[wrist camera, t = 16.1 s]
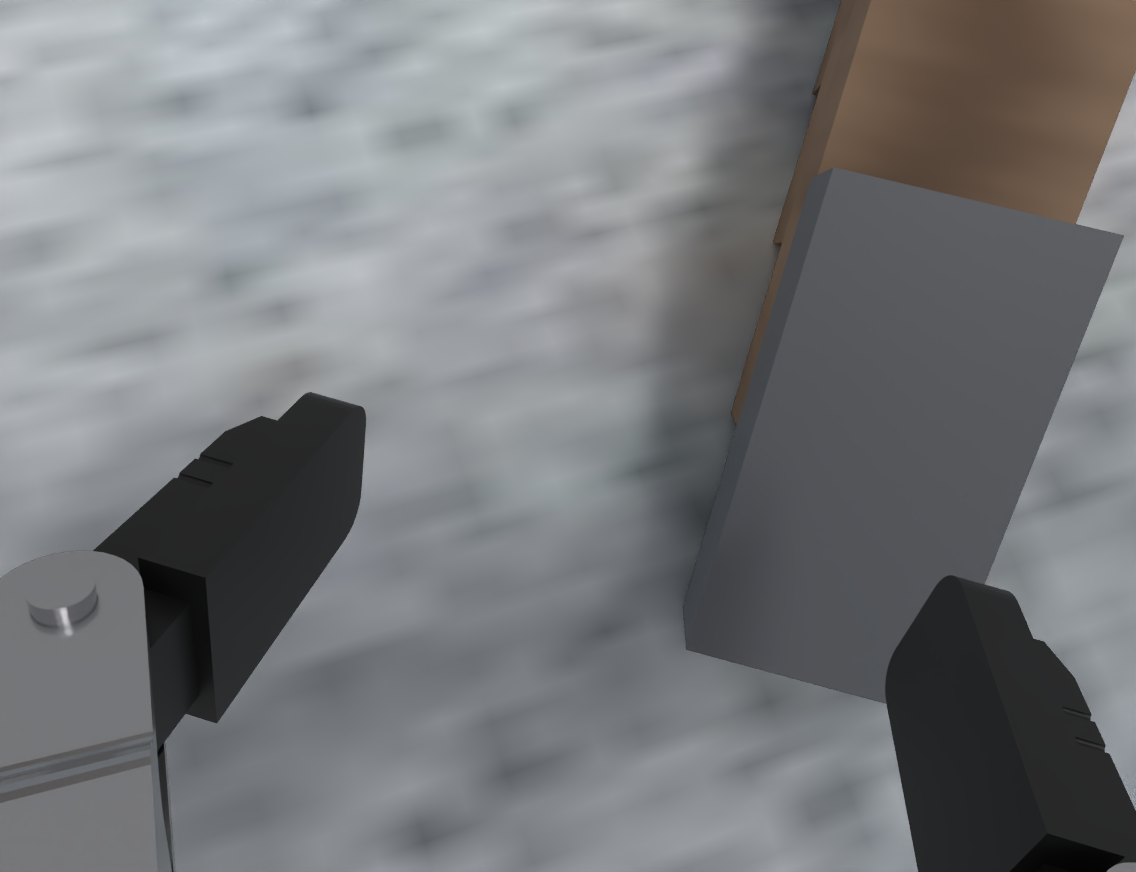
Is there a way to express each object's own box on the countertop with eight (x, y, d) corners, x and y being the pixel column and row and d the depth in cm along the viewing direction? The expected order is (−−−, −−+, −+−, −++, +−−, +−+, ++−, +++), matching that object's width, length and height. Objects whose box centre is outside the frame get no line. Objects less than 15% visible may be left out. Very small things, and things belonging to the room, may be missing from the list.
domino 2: (900, 665, 17) (1064, 238, 15) (931, 716, 15) (1124, 235, 13) (682, 606, 18) (810, 178, 15) (686, 649, 16) (833, 166, 13)
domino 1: (937, 466, 18) (1100, 36, 16) (971, 490, 16) (1160, 6, 14) (730, 412, 19) (860, -19, 16) (739, 431, 17) (887, -55, 14)
